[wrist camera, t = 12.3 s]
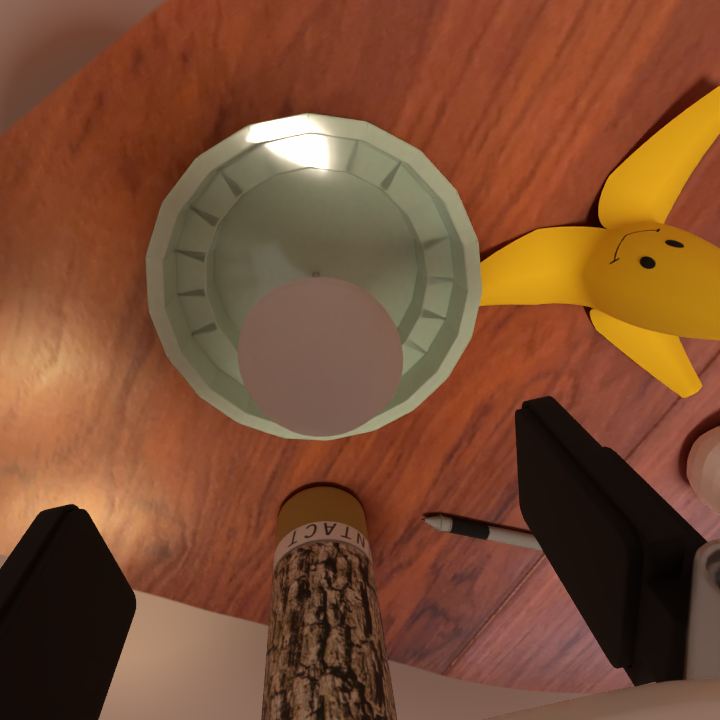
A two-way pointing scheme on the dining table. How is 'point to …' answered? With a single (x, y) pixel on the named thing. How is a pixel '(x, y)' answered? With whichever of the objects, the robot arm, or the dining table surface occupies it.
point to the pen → (483, 531)
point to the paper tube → (325, 615)
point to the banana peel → (630, 257)
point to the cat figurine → (706, 468)
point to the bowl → (311, 251)
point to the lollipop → (320, 356)
